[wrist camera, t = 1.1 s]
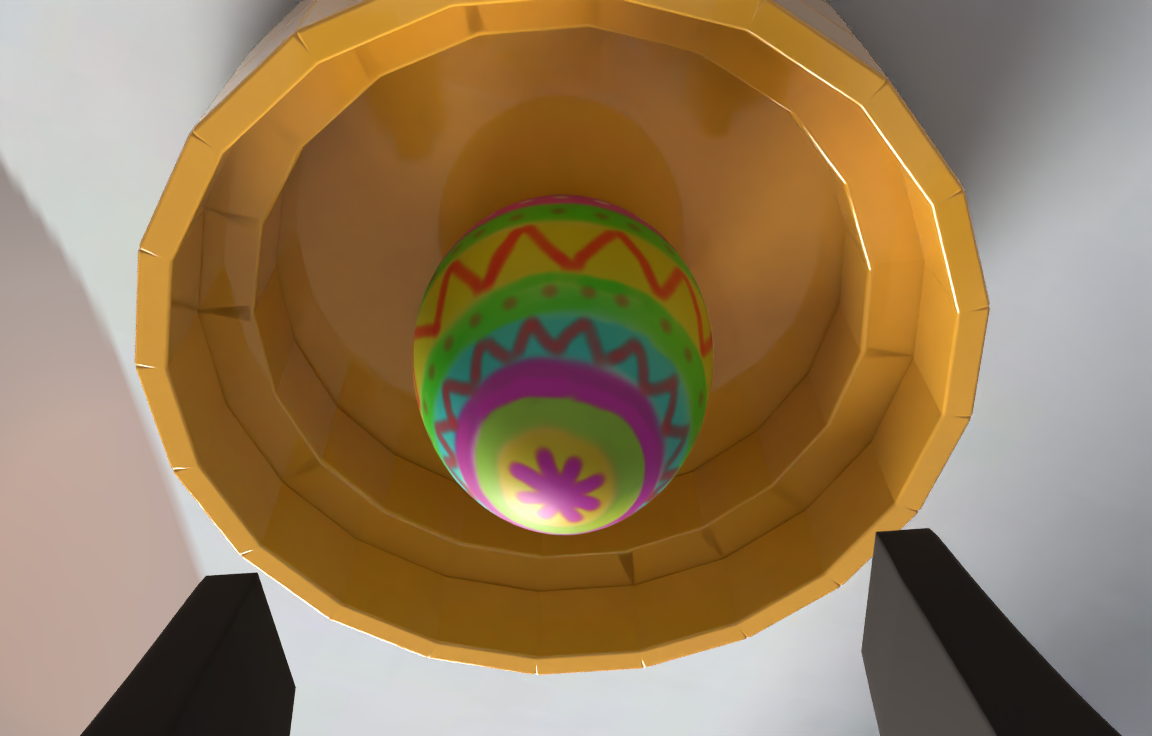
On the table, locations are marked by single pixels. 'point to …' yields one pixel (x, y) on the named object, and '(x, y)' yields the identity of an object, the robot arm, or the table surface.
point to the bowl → (532, 169)
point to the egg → (563, 363)
